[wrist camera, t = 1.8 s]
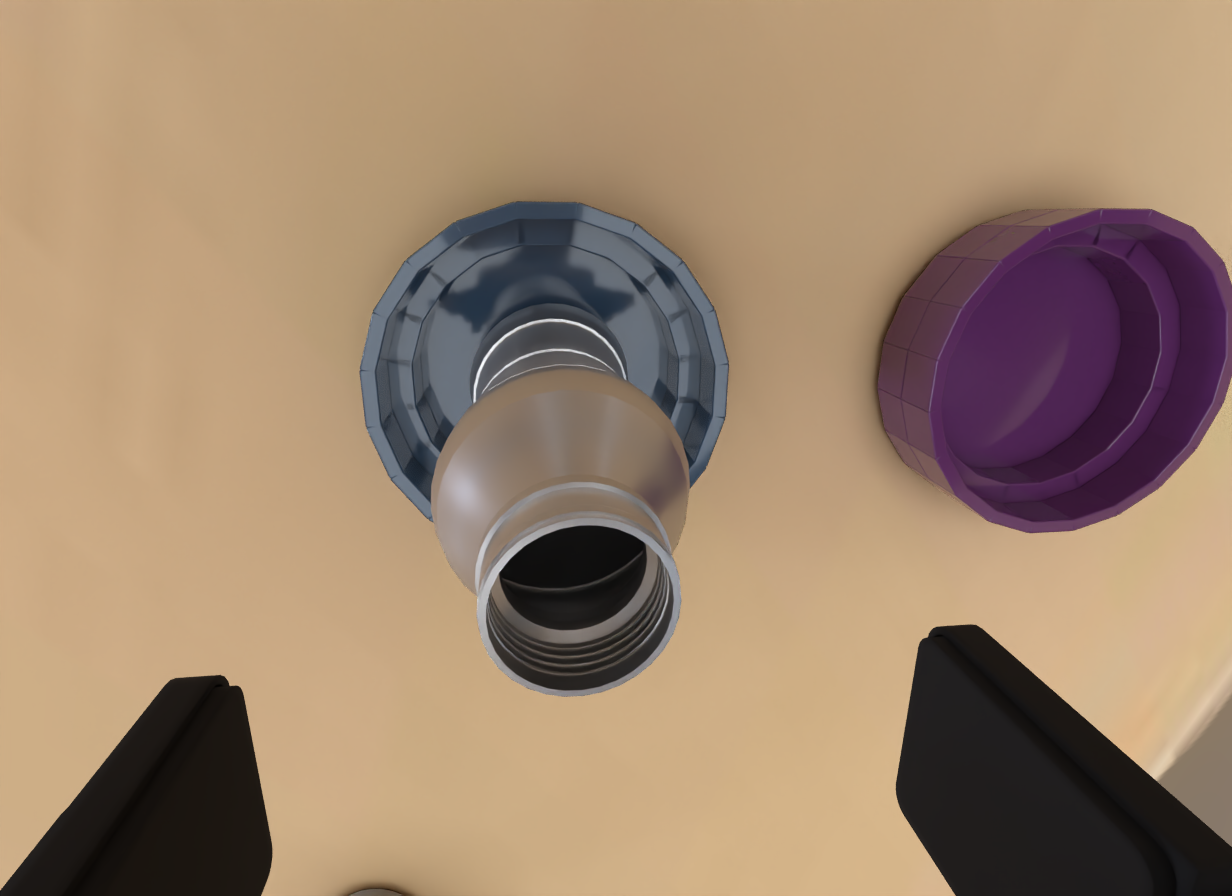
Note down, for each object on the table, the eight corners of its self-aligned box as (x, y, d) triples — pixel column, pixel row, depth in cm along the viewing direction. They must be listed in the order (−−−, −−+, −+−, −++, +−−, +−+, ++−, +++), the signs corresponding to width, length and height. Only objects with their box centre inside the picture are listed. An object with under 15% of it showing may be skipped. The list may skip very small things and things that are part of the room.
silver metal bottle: (649, 363, 31) (837, 582, 12) (550, 468, 32) (585, 816, 13) (544, 263, 29) (578, 345, 10) (442, 378, 30) (305, 640, 11)
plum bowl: (894, 208, 31) (961, 206, 26) (1173, 211, 33) (1282, 210, 28) (856, 497, 35) (907, 540, 31) (1103, 486, 37) (1187, 525, 32)
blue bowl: (370, 202, 28) (339, 199, 23) (705, 206, 30) (739, 203, 25) (401, 517, 33) (381, 567, 28) (691, 504, 34) (718, 549, 30)
